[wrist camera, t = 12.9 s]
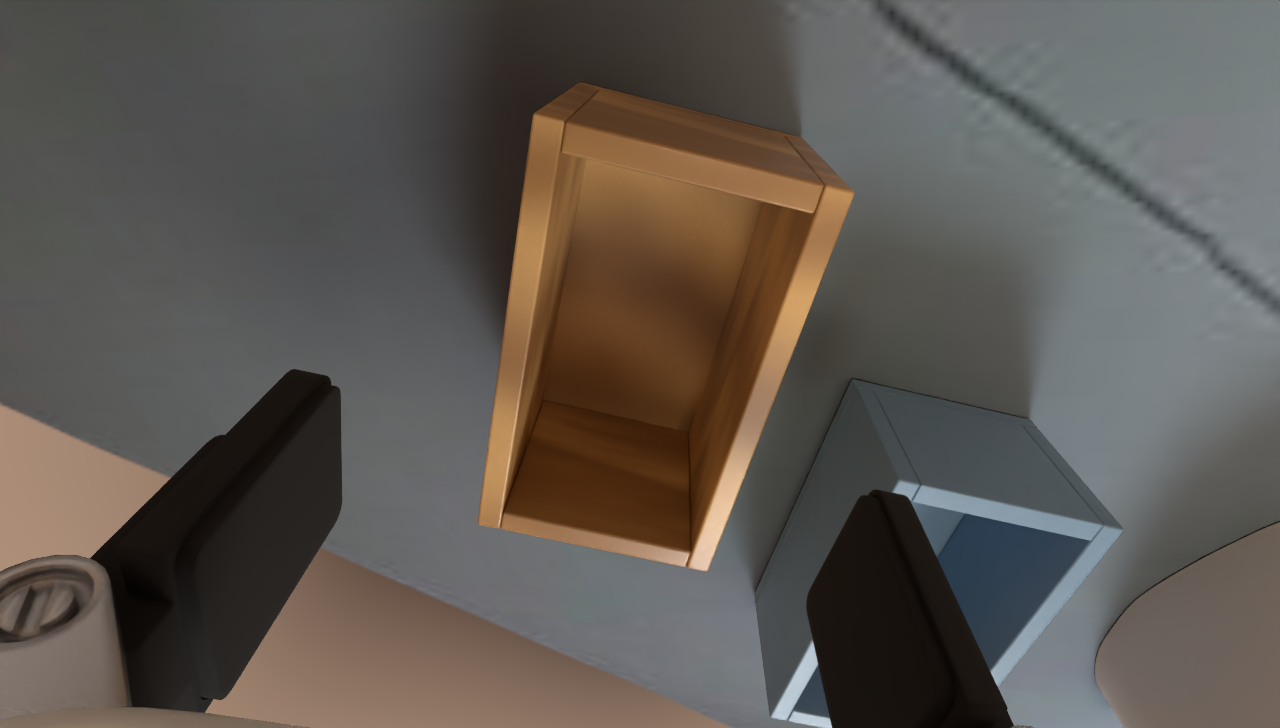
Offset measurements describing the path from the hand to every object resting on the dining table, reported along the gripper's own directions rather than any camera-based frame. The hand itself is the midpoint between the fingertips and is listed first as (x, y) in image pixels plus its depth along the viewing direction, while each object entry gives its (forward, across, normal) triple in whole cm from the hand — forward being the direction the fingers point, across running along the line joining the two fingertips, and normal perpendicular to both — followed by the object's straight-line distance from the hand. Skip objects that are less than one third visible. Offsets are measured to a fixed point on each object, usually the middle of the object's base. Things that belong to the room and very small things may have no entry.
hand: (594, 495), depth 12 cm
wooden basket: (+12, -1, +1) cm, 12 cm away
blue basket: (+12, -13, +9) cm, 20 cm away
